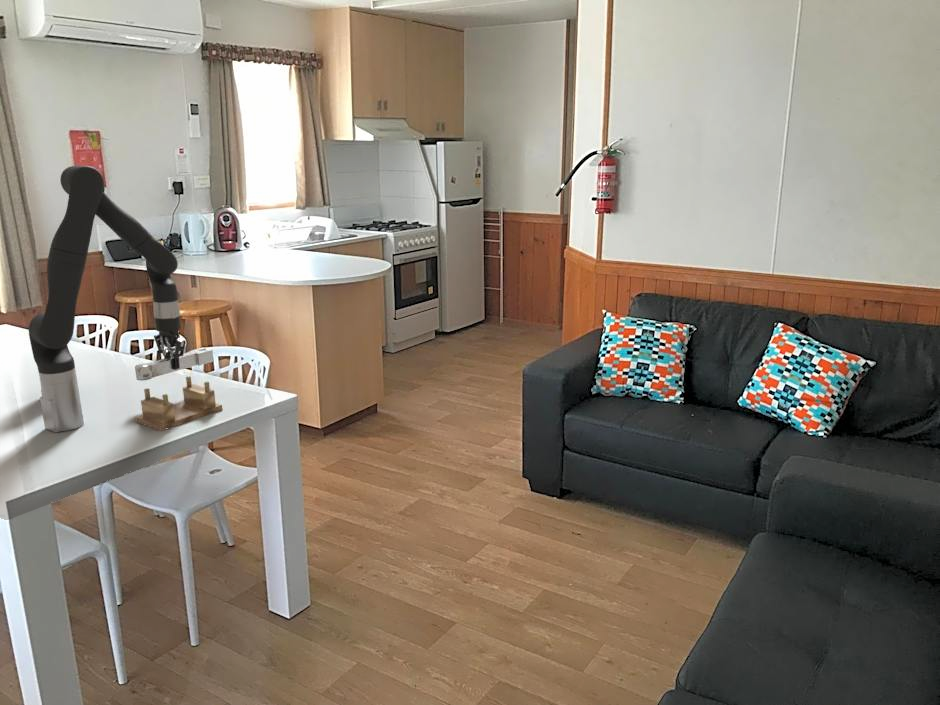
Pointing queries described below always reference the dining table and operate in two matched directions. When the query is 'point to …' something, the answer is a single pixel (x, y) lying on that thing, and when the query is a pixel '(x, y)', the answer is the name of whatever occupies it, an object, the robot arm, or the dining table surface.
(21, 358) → the dining table surface
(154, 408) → the tool rest
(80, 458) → the dining table surface
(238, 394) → the dining table surface
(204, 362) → the long white beam
